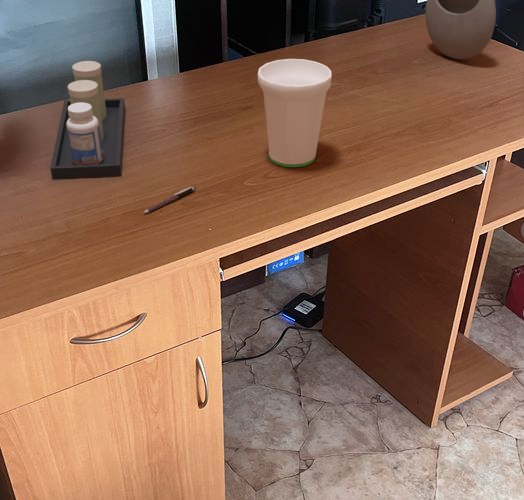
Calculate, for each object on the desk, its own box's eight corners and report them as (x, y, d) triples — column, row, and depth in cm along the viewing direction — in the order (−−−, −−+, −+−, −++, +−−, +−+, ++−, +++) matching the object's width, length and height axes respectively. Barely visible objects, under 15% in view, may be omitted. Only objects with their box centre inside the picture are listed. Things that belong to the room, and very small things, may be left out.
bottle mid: (75, 145, 142) (66, 91, 136) (77, 133, 146) (68, 80, 140) (104, 144, 143) (96, 90, 136) (105, 132, 146) (98, 79, 140)
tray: (52, 179, 134) (50, 168, 132) (66, 110, 155) (64, 100, 154) (121, 176, 135) (119, 165, 133) (125, 108, 156) (124, 97, 155)
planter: (411, 50, 182) (422, -38, 170) (431, 43, 185) (444, -43, 173) (474, 73, 171) (491, -19, 159) (495, 65, 175) (513, -25, 162)
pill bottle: (84, 150, 141) (76, 97, 134) (109, 157, 139) (102, 103, 132) (66, 163, 137) (56, 109, 131) (91, 170, 135) (83, 115, 129)
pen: (194, 189, 131) (193, 183, 131) (197, 190, 131) (197, 185, 130) (141, 214, 125) (141, 208, 124) (144, 215, 125) (144, 210, 124)
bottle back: (79, 123, 149) (71, 71, 143) (81, 112, 153) (73, 61, 147) (106, 122, 150) (100, 70, 143) (107, 111, 154) (101, 60, 147)
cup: (254, 142, 145) (254, 59, 135) (321, 140, 146) (325, 57, 136) (260, 174, 135) (261, 87, 125) (332, 171, 136) (338, 85, 126)
